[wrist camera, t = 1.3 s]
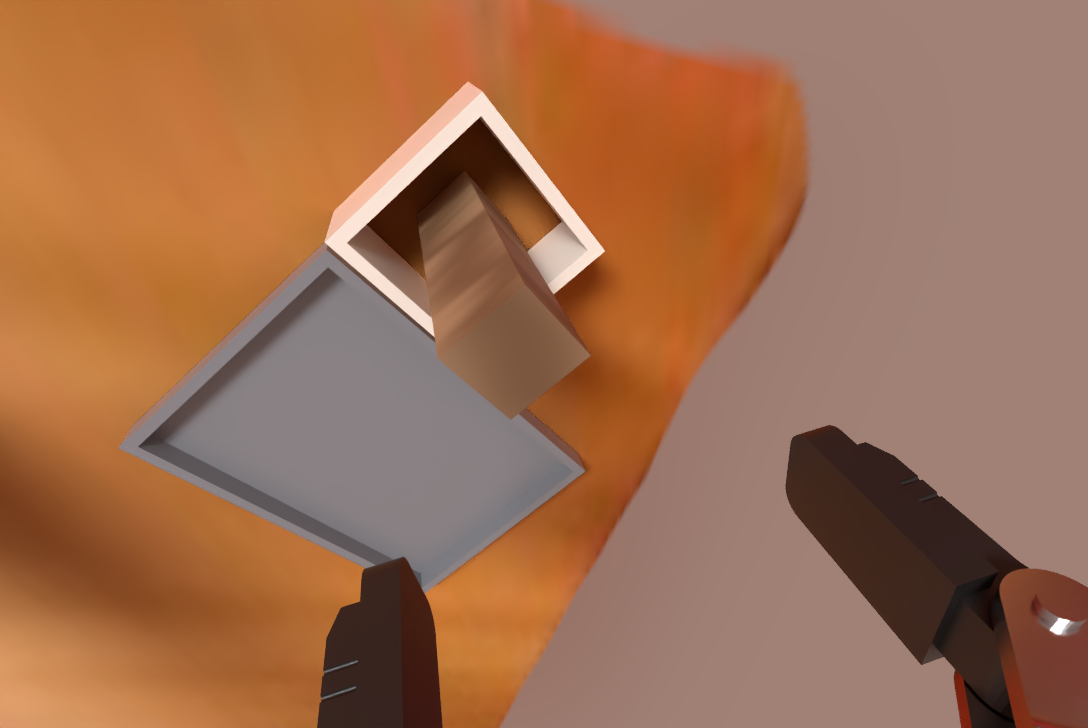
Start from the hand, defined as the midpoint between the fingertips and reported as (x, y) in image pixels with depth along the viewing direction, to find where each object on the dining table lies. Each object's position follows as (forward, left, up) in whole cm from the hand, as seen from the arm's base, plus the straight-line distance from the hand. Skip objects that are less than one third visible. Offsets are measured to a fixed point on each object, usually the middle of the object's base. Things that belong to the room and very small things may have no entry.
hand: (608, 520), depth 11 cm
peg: (0, +1, -20) cm, 20 cm away
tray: (-13, -6, -20) cm, 25 cm away
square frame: (0, +1, -20) cm, 20 cm away
